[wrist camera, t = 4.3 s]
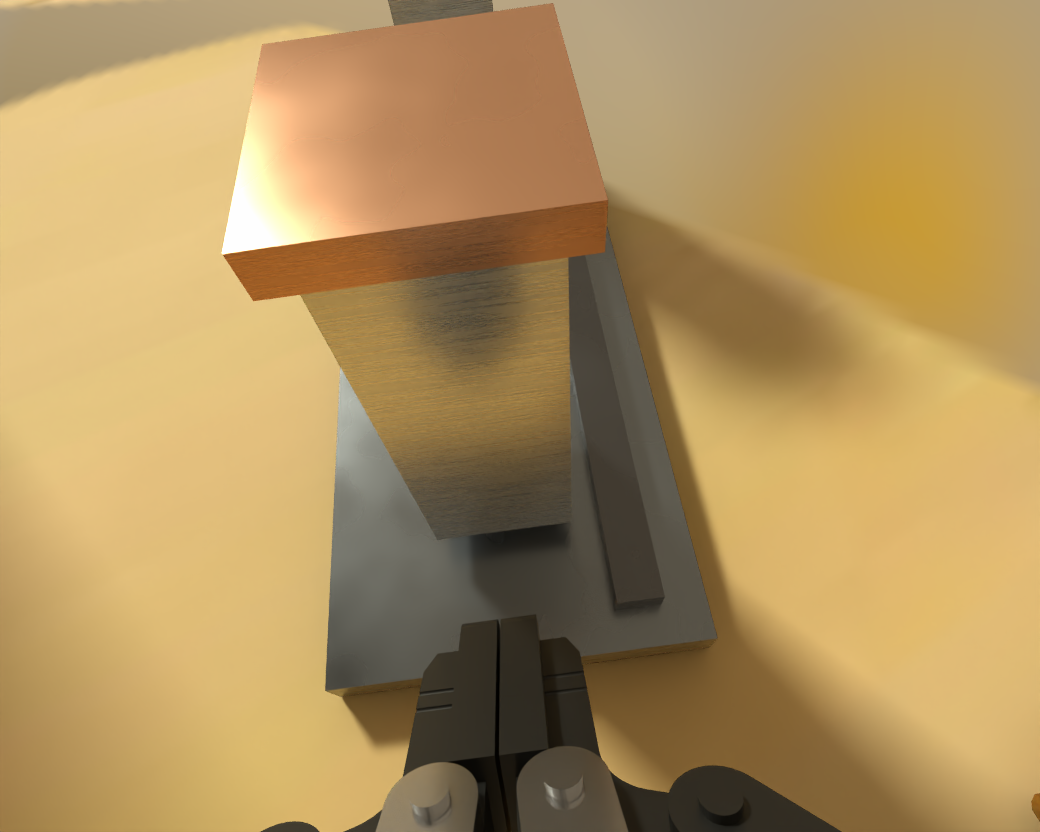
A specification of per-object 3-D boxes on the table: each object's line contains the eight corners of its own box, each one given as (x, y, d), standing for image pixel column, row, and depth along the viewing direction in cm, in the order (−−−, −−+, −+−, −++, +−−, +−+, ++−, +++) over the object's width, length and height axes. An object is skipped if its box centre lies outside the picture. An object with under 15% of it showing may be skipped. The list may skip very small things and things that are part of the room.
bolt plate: (708, 647, 17) (979, 366, 6) (340, 697, 17) (-129, 518, 6) (552, 45, 32) (540, -347, 21) (362, 72, 32) (249, -305, 21)
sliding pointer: (588, 541, 17) (607, 200, 7) (427, 563, 17) (221, 253, 7) (564, 405, 19) (553, 3, 9) (422, 424, 19) (261, 44, 9)
